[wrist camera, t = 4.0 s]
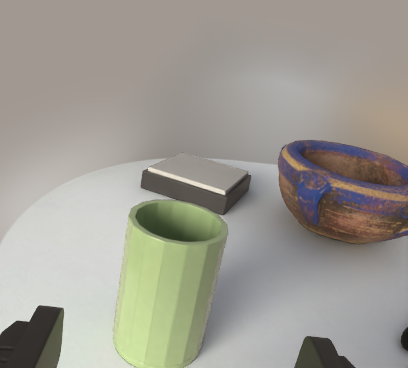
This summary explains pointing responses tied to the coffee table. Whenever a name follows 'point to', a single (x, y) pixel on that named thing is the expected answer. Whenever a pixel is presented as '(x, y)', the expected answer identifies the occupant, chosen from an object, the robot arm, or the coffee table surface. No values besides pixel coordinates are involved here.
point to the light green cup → (167, 282)
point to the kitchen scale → (197, 181)
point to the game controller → (405, 339)
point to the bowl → (344, 191)
